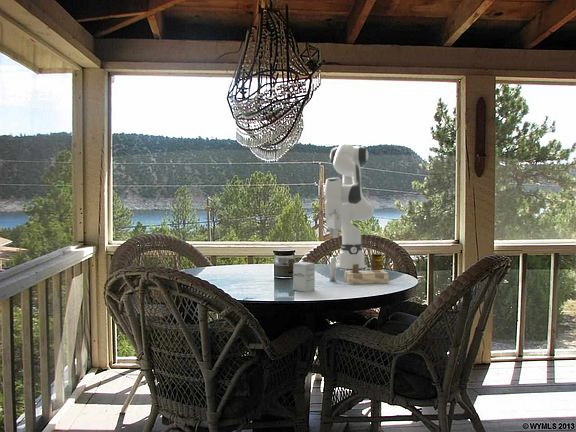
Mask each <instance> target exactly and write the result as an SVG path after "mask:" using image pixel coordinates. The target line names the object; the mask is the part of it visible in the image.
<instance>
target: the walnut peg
mask: <svg viewBox="0 0 576 432" xmlns="http://www.w3.org/2000/svg"><path fill="white" fill-rule="evenodd" d="M352 271H353V273H359V271H360V270H359V264H353V269H352Z"/></svg>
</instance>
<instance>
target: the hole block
mask: <svg viewBox="0 0 576 432" xmlns="http://www.w3.org/2000/svg"><path fill="white" fill-rule="evenodd" d="M344 282H345V283H347V284H349V285H361V284H364V285H365V284H389V272H388V271H385V270H383V269H382V270H376V271H371V270H359V273H353V270H345V271H344Z"/></svg>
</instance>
